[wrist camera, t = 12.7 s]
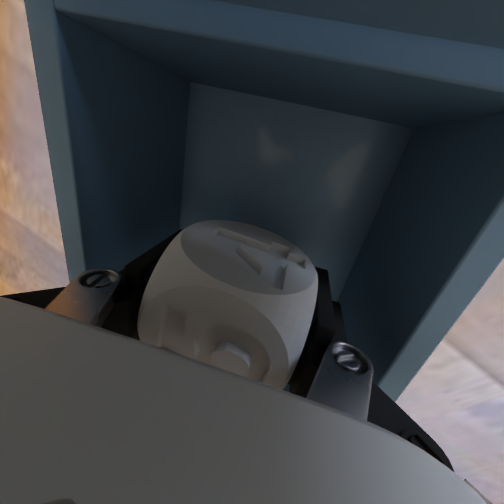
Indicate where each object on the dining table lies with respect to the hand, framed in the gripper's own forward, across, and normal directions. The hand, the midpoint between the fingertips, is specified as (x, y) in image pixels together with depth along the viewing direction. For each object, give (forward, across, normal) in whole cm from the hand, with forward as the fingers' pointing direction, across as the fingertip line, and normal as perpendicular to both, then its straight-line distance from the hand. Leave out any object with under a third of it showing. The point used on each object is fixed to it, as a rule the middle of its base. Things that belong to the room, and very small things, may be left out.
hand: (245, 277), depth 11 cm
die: (+1, 0, 0) cm, 1 cm away
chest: (+6, 0, -1) cm, 6 cm away
